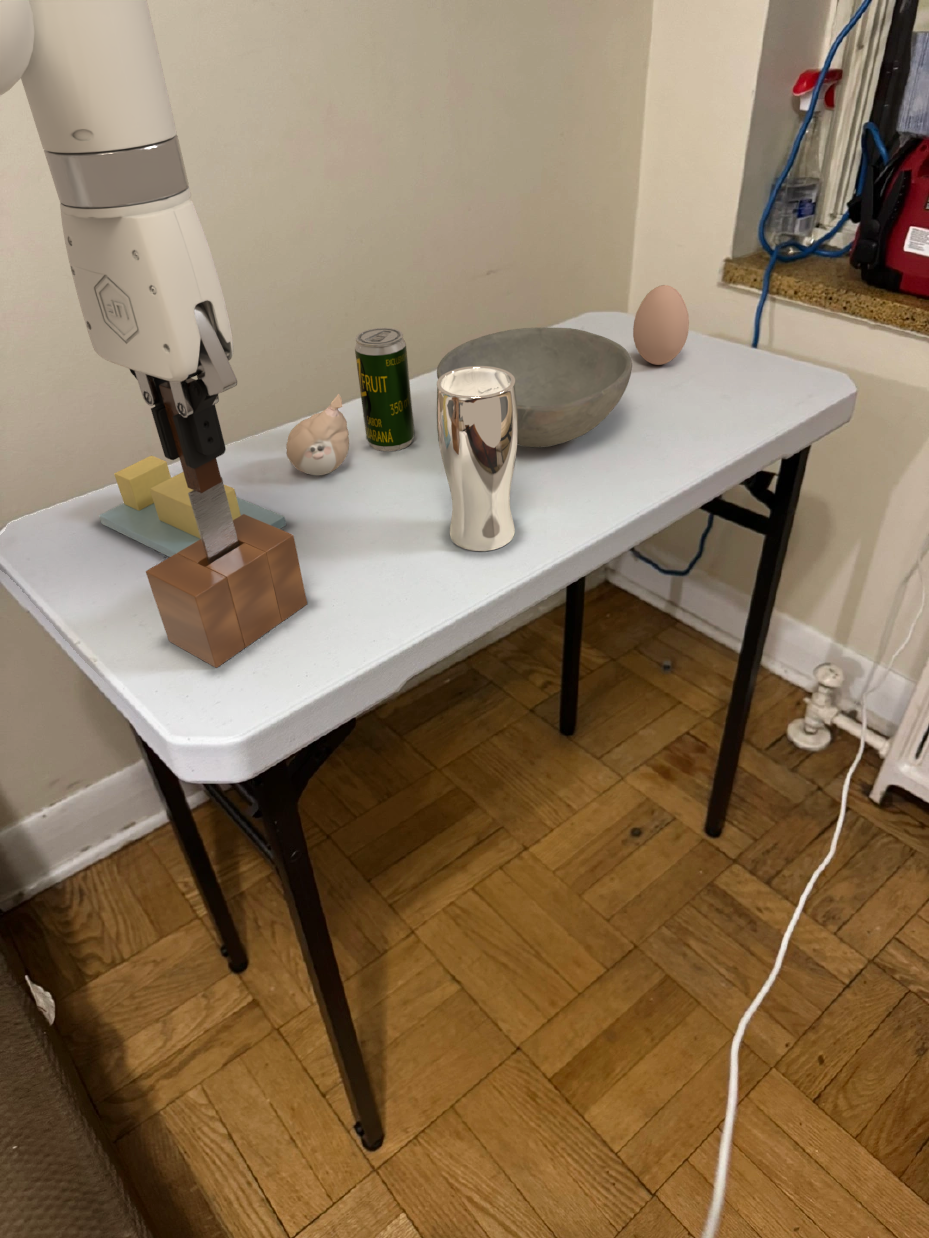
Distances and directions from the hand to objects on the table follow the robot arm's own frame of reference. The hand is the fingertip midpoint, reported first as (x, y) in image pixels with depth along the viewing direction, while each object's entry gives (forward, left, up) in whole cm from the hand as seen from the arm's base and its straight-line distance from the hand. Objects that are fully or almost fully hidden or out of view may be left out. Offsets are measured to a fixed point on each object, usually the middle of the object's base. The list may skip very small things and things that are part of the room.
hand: (195, 454), depth 63 cm
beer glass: (+22, -9, -16) cm, 28 cm away
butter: (+8, +15, -14) cm, 22 cm away
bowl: (+43, -1, -16) cm, 46 cm away
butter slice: (+8, +22, -14) cm, 28 cm away
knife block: (0, 0, -15) cm, 15 cm away
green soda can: (+32, +11, -16) cm, 37 cm away
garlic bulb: (+23, +13, -16) cm, 31 cm away
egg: (+67, -4, -16) cm, 69 cm away
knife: (0, 0, -12) cm, 12 cm away
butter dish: (+8, +16, -15) cm, 24 cm away
